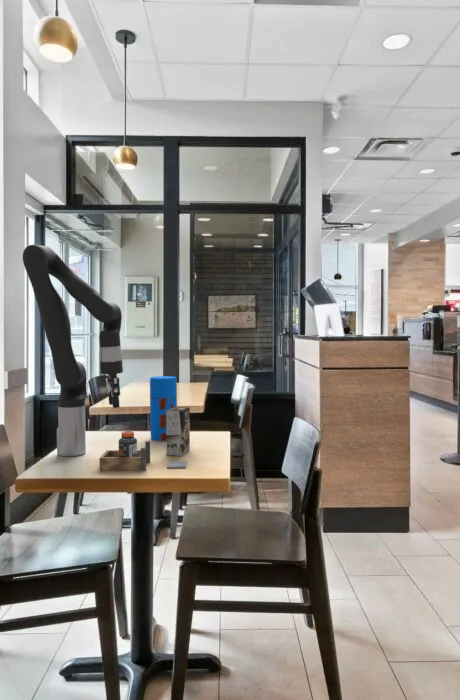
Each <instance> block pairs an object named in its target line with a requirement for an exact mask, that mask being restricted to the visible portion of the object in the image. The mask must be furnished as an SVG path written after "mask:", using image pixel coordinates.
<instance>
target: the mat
mask: <svg viewBox="0 0 460 700" xmlns="http://www.w3.org/2000/svg"><path fill="white" fill-rule="evenodd" d="M187 465H188V461H187V460H172V461H171V460H169V461H168V462H167V465H166V469H187Z"/></svg>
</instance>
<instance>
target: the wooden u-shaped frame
mask: <svg viewBox="0 0 460 700" xmlns="http://www.w3.org/2000/svg"><path fill="white" fill-rule="evenodd" d="M144 445H145V446H144V447H140V449H137V457H119V449H115V450H114V449H109V450H108V449H107V450H105V452H104V453H102V455H101V456H100V457H99V459H98V460H99V461H98V462H99V471H101V472H103V471H104V472H105V471H107V472H108V471H109V472H110V471H112V472H113V471H114V472H116V471H121V470H129V471H146V470H147V463H151V441H150V440H146V441H145V442H144Z"/></svg>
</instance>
